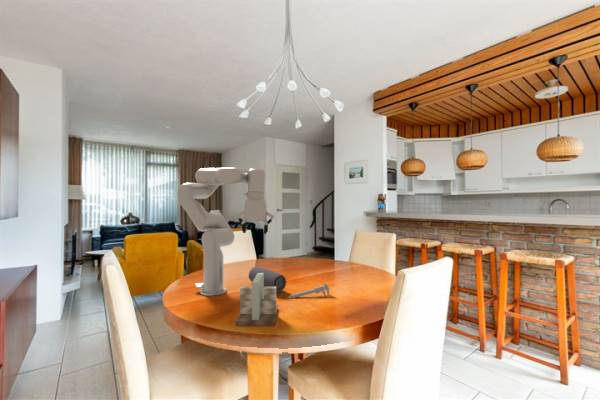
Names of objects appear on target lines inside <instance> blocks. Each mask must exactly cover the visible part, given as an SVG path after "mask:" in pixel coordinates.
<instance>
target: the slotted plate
mask: <svg viewBox="0 0 600 400" xmlns="http://www.w3.org/2000/svg"><path fill="white" fill-rule="evenodd" d="M251 287H252V320H259V318H260V301H261V299H264V273H257V275H256V277H255V278H254V280H253V282H252V281H251Z"/></svg>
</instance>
